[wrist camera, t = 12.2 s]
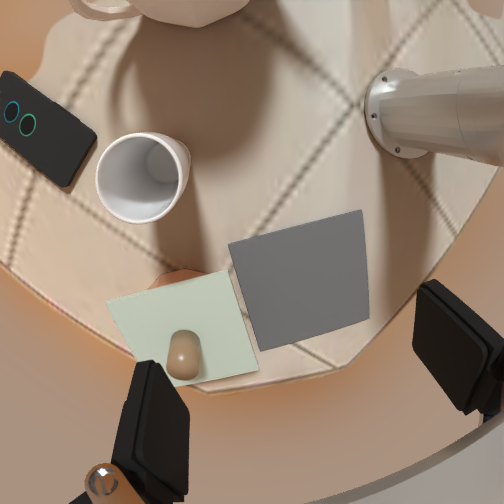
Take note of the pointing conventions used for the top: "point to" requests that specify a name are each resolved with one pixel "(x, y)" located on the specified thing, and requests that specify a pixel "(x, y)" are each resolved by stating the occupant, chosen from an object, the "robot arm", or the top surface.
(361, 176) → the top surface
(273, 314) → the mat
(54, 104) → the smart home device
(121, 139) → the drinking glass
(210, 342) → the cover sheet
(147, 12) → the watering can
